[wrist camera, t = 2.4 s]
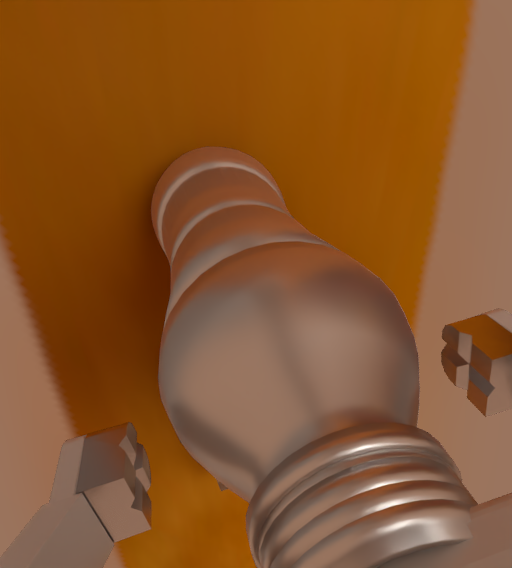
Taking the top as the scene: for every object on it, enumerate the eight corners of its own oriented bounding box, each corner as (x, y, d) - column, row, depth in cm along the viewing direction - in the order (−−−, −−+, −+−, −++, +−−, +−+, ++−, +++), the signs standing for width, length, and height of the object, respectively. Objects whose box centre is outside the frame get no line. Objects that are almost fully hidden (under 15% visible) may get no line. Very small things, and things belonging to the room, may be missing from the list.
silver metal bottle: (207, 275, 25) (342, 742, 8) (122, 192, 22) (45, 693, 5) (291, 205, 24) (640, 564, 7) (216, 108, 21) (536, 351, 4)
